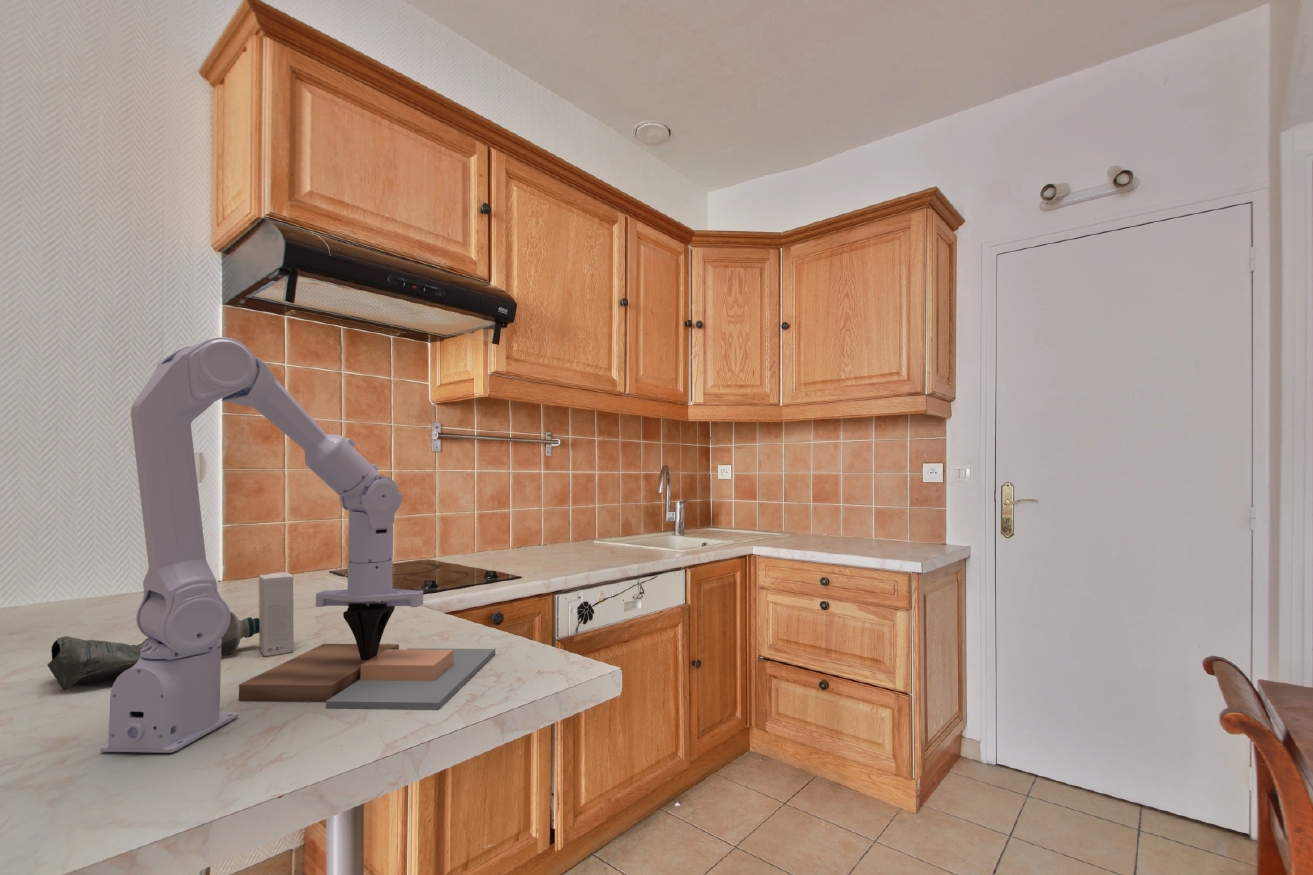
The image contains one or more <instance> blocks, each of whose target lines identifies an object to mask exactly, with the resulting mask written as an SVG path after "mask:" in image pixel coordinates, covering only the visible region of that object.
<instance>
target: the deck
mask: <svg viewBox="0 0 1313 875" xmlns="http://www.w3.org/2000/svg"><path fill="white" fill-rule="evenodd" d="M386 649H393V650H400V644H399V643H396V644H395V643H380V644H379V648H378V653H377V655H378V654H380V653H381V652H383V651H384V650H386ZM366 661H368V660H361V659H360V654H359V650H358V646H357V643H322V644H320V645H318V646H316V647H314V648H312V649H310V650H307V651H306V652H304V653H301V654H299V655H297V656H295V657H293V658H291V659H289V660H287V661H285V662H283V663H281V664H278V665H277V666H275V667H272V668H270V669H268V670H266V671H264V672H262V673H260V674H257V675H256V676H254V677H251V678H250V679H247V680H246V681H244V682H240V684H238V701H243V702H244V701H246V702H247V701H248V702H309V703H310V702H312V703H313V702H315V703H317V702H321V703H322V702H324V703H326V701H327V700H329V699H330V698H332V697H333V696H335V695H336V694H338V693H340V692H341V691H343V690H344V689H346V688H347V687H349V686H350V685H352V684H353V683H355V682H357V681H358V680H360V676H361V664H363V663H365V662H366Z"/></svg>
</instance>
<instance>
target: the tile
mask: <svg viewBox="0 0 1313 875" xmlns="http://www.w3.org/2000/svg"><path fill="white" fill-rule="evenodd" d="M453 662H454V650H406V649H399V650H393V649H386V650H384V651H383V652H381V653H380V654H378V655H376V656H375V657H373V658H371V659H370V660H368V661H366V662H365V663H363V664H361V676H360V680H407V681H434V680H435V679H436V678H437V677H439V676H440V675H441V674H442V673H443V672H445V671H446V670H447V669H448V668H449V667H450V666H452V665H453Z"/></svg>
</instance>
